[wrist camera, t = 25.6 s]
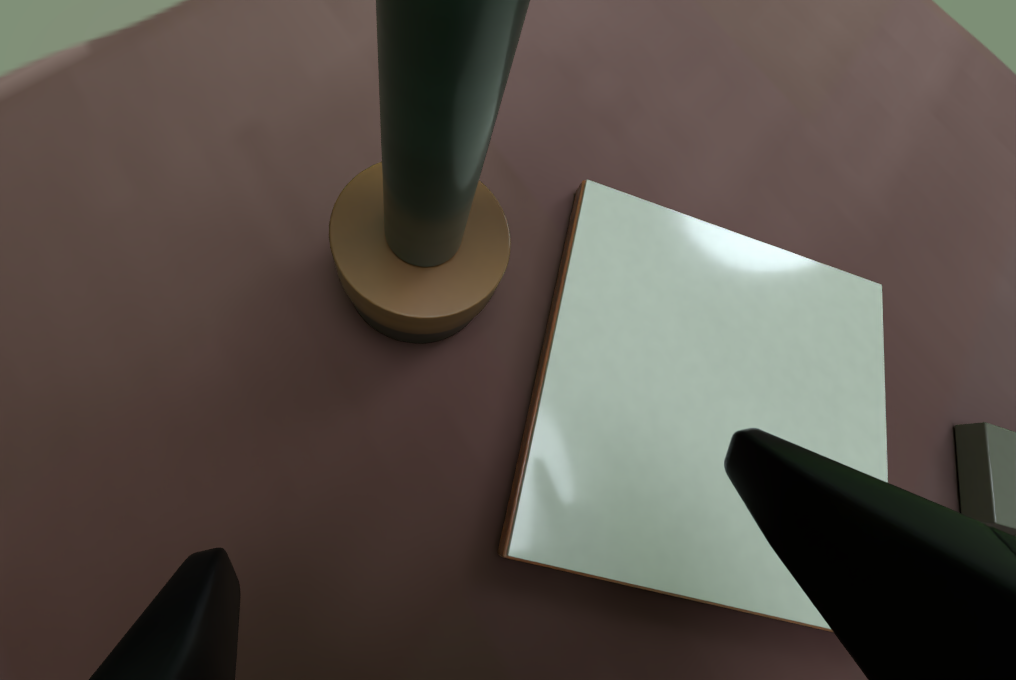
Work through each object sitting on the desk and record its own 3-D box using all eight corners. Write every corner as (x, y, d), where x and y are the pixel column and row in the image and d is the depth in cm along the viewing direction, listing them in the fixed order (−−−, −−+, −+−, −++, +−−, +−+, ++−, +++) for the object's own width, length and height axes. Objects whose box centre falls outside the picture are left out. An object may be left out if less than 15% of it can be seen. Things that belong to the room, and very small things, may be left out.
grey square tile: (960, 520, 19) (995, 523, 18) (953, 424, 21) (985, 421, 20) (1038, 542, 20) (1076, 546, 19) (1026, 447, 21) (1061, 446, 20)
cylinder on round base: (499, 343, 17) (762, 3, 5) (346, 356, 16) (181, -66, 4) (480, 212, 18) (651, -315, 6) (337, 214, 17) (192, -456, 5)
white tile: (496, 553, 15) (503, 558, 14) (576, 190, 20) (585, 176, 19) (868, 638, 17) (895, 647, 16) (862, 291, 22) (884, 283, 21)
